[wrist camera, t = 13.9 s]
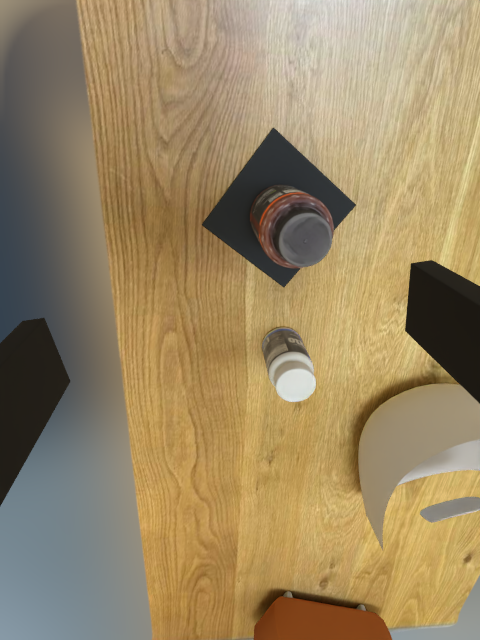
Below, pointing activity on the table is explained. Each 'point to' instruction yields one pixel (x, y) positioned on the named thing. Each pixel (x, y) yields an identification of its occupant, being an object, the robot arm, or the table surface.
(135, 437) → the table surface
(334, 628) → the orange toaster
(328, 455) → the table surface
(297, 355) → the pill bottle
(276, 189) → the supplement bottle
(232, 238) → the mat
